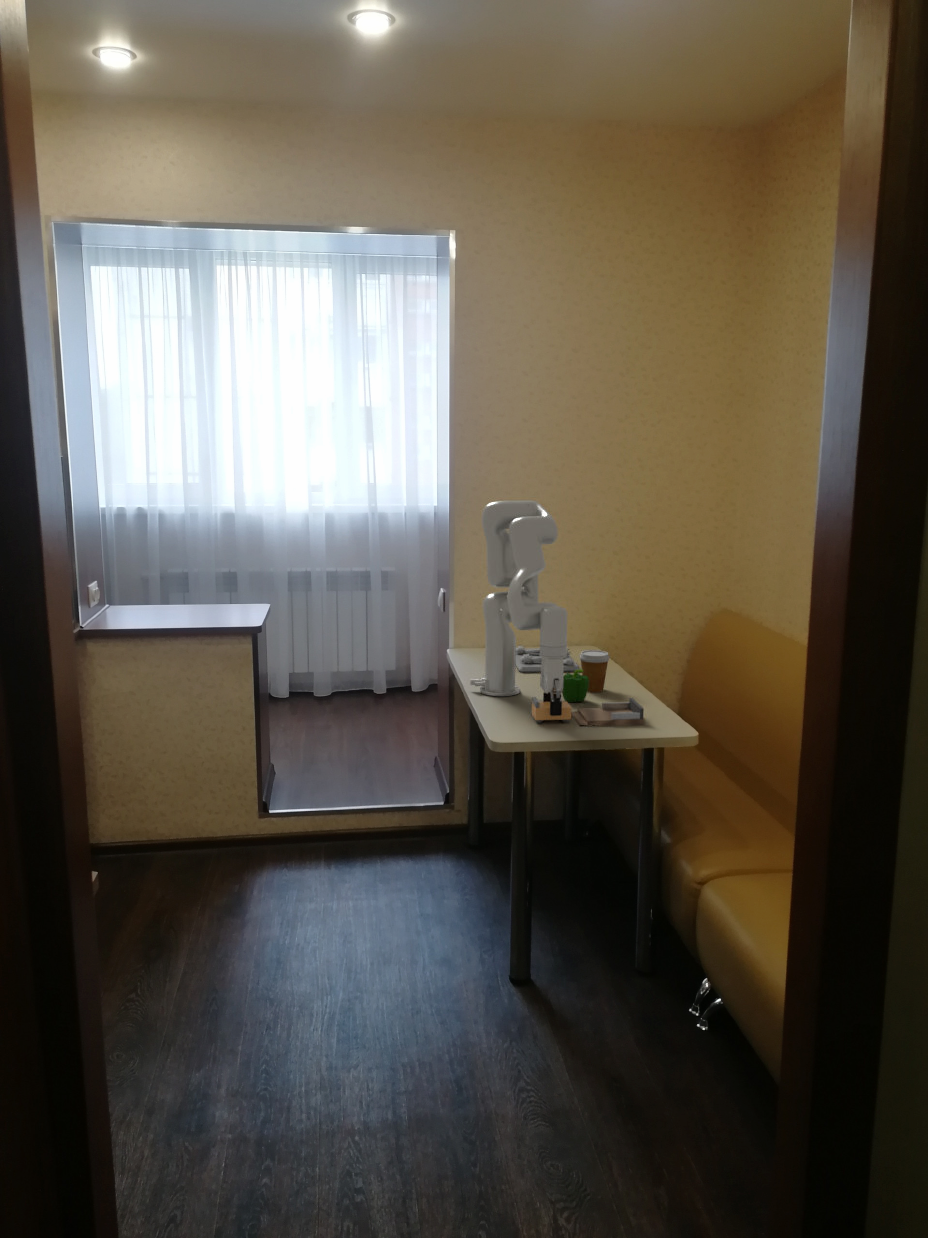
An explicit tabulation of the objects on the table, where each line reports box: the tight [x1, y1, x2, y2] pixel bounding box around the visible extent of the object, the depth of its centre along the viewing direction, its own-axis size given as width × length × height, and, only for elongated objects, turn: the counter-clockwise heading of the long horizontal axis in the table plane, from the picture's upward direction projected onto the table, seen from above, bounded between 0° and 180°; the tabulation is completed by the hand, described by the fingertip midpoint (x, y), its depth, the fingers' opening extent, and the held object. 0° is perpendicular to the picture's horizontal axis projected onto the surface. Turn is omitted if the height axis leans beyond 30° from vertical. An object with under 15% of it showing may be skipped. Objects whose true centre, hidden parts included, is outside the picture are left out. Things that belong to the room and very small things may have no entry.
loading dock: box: [571, 697, 645, 727], centre depth 265 cm, size 18×12×4 cm, turn 96°
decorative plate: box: [515, 644, 582, 674], centre depth 333 cm, size 30×22×7 cm
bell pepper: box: [561, 668, 589, 703], centre depth 284 cm, size 8×8×10 cm
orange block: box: [531, 696, 572, 724], centre depth 263 cm, size 10×6×6 cm, turn 96°
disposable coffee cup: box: [579, 649, 610, 693], centre depth 296 cm, size 10×10×12 cm
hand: (552, 710), depth 263 cm, fingers open, 9 cm apart
